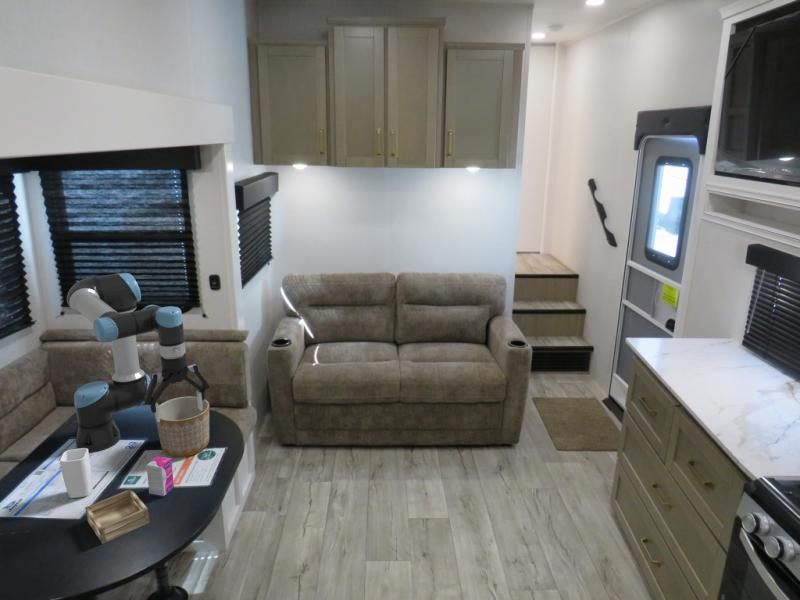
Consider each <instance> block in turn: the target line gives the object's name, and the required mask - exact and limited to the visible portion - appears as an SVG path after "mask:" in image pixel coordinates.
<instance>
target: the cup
mask: <svg viewBox="0 0 800 600" xmlns="http://www.w3.org/2000/svg"><path fill="white" fill-rule="evenodd" d="M61 455H62V456H61V457H60V459H59V464H60V469H61V475H62V478H63V483H64V486H65V488H66V491H67V495H68V497H69V498H70V499H79V498H84V497H87V496H89V494H90V492H91V491H92V467H91V460H90V459H91V458H90V452H88V449H87V448H80V449H77V448H74V449H67V450H66V451H64V452H63V453H62V454H61Z"/></svg>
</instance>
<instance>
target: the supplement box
mask: <svg viewBox="0 0 800 600" xmlns="http://www.w3.org/2000/svg"><path fill="white" fill-rule="evenodd" d="M173 473H174V472H173V462H172V458H171V457H163V456H160V455H159V456H158V455H156V456H155V457H154V458H153V459H152V460H150V462H148V463H147V464H146V475H147V483H148V484H147V485H148V495H149V496H154V495H155V497H160V496H161V498H165V497H166V496H167V495H168V494H169V492H171V491H172V490H173V489H174V488H173V487H175V486H174V485H175V484H174V474H173ZM172 488H173V489H172ZM165 495H166V496H165Z"/></svg>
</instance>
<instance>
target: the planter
mask: <svg viewBox="0 0 800 600" xmlns="http://www.w3.org/2000/svg"><path fill="white" fill-rule="evenodd" d="M202 406H203V410H202V411H200V410H199V408H198V401H197V396H191V395H190V396H189V395H188V396H181V397H180V396H179V397H176V398H171V399H169V400H166V401H164V402H162V403H161V404H158V407H159V416H160V422H157V420H156V418H155V417H154V418H155V422H156V428H157V432H158V437H159V443H160V447H161V451H163V453H164V454H166V455H167V456H169V457H172V458H173V457H175V458H185V457H189V456H194V455H196V454H198V453H200V452H202V451H203V450H204V449H205V448H206V447H208V445H209V443H210V402H209V401H208V400H207V399H204V400H202ZM153 414H154V415H155V413H153Z"/></svg>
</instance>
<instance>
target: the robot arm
mask: <svg viewBox="0 0 800 600" xmlns="http://www.w3.org/2000/svg"><path fill="white" fill-rule="evenodd" d="M141 293H142V292H141V289H140V287H139V284H138V281H136V279H135V277H134V276H133V275H132V274H131V273H127V272H123V273H118V272H117V273H113V274H106V275H102V276H101V275H100V276H94V277H88V278H83V279H81V280H79V281H78V282H76V283H74V284H73V285H72V286H71V287H70V289H69V290H68V292H67V295H66V303H67V305H68V307H69V308H70V309H71V310H72V311H73V313H76V314H78V315H82V316H83V317H84V318H86V319H87V320H88V321H89V322H90V323H91V324H92V326H93V327H92V328H93V332H94V336H95V337H96V340H97V341H98V342H100V343H105V342H106V343H107V342H111V349H112V354H113V363H114V370H115V373H114V374H113V375H112V377H111V381H112V382H110V383H109V382H106V381H104V380H98V381H97V380H95V381H91V382H88V383H86V384H83V385H81V386H80V387H79V388H78V389H76V391H74V394H73V399H74V407H75V412H76V414H75V415H76V419H77V425H78V429H77V434H76V439H75V446H76V449H80V448H87V449H88V452H89V453H91V452H92V453H93V452H94V453H95V452H99V451H104V450H107V449H109V448H111V447H112V446H114V445H116V444H117V443H118V442H119V441H120V439H121V432H120V430H119V427H118V425H116V422H115V420H114V419H113V418H114V417H113V414H115V413H118V412H121V411H125V410H129V409H132V408H135V407H140V406H142V405H144V404H145V405H150V411H151V412H152V413H153V414H154V413H155V414H154V418H156V419H155V421H156V420H157V422H160V416H159V407H158V406H159V402H157V401H158V400H159V398H160V397H161V396H162V394H163V393H164V391H165V390H166V388H167V387H169V385H170V384H176V383H181V382H183V381H186V382H188V383H189V384H191V386H193V387H195V389H197V390H196V397H197V401H198V408H199V410H200V411H202V410H203V406H202V400H204V399H205V398H206V397H205V392H206V390H208V389H210V388H211V387H210V385H209V384H208V382H207V381H206V380H205V378H204V377H203V375H202V374H201V372H199V368H198V365H197V364H196V363H195V362H194V363H193V362H192V364H190V365H188V363H187V354H186V344H185V343H186V342H185V332H184V323H183V322H184V317H183V313H182V310H181V308H179V307H178V306H172V305H171V306H170V305H169V306H163V307H162V306H159V305H156V304H149V305H146V306H144V307H143V308H142V309H141V310H136V309H137V303H139V302H140V301H141V300H142V299H141V298H142V294H141ZM153 332H155V333H157V338H158V345H159V355H160V363H161V365H160V366H161V371H160V372H155V371H152V373H151V378H150V376H149V375H148V374H147V373H145V371H144V370H143V369H141V367H140V362H139V361H140V360H139V352H138V345H137V337H136V336H140V335H144V334H147V333H153ZM190 371H191V372H192V373H194V375H195V376H196V377H197V378H198V380H199V381H200V382H201V384H202V385H200V384H199V383H198V382H197V381H196V380H194V379H193V378H192V377H190V376H189V375H188V373H189V372H190ZM161 377H162V378H163V379H162V380H161V382H160V384H159V385H158V386H157V384H158V381H159V380H160V378H161ZM156 386H157V389H155V388H156ZM205 400H206V399H205Z"/></svg>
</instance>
